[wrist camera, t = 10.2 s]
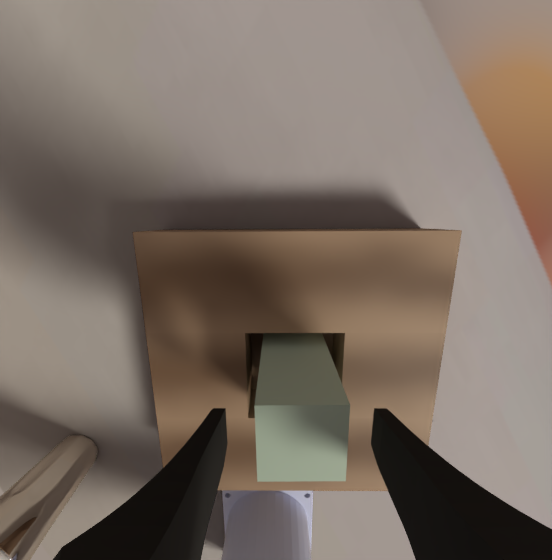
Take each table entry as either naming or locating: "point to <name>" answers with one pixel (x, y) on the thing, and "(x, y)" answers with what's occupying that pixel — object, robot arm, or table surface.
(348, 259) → the socket block
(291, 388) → the peg
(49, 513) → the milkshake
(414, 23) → the table surface
